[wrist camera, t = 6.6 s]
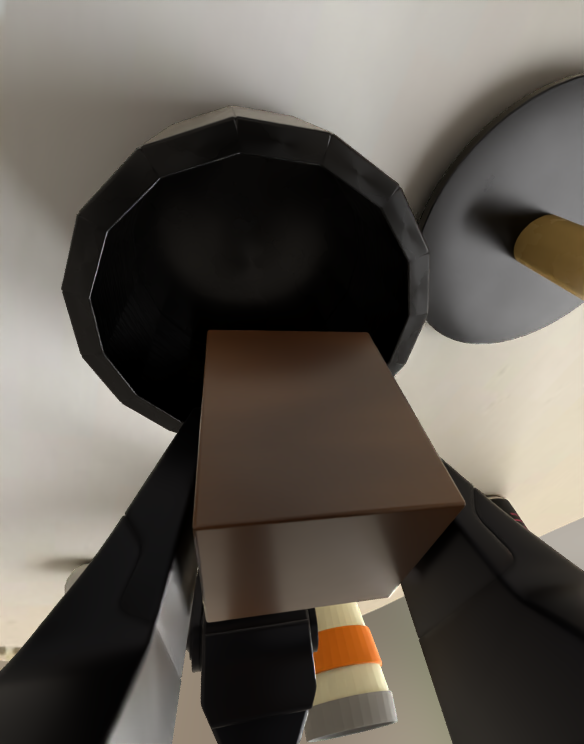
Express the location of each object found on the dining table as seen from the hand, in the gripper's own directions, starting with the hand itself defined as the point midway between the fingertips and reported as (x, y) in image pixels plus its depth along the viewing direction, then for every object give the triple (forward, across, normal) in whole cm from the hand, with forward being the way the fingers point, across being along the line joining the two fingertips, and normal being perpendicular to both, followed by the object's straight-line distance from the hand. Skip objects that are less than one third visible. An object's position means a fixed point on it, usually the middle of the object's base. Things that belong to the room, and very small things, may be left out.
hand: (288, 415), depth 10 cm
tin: (+11, 0, 0) cm, 11 cm away
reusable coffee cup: (+11, -14, +55) cm, 58 cm away
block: (+1, 0, 0) cm, 1 cm away
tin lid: (+10, -15, -3) cm, 18 cm away
